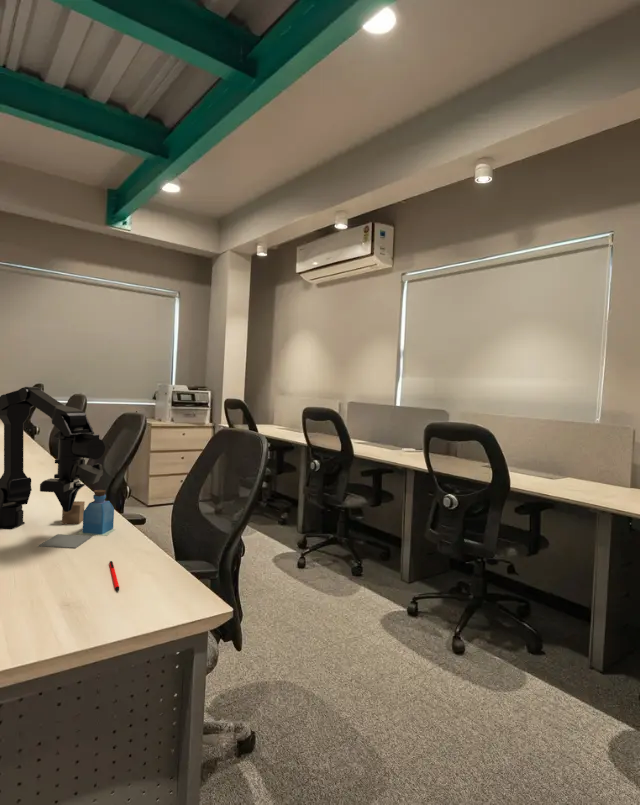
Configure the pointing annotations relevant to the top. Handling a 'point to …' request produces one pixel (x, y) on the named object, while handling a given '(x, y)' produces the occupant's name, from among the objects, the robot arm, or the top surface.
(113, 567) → the pen
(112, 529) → the code mat
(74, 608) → the top surface
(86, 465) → the robot arm
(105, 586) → the top surface
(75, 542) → the slate coaster
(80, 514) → the walnut block
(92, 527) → the perfume bottle
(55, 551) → the top surface
